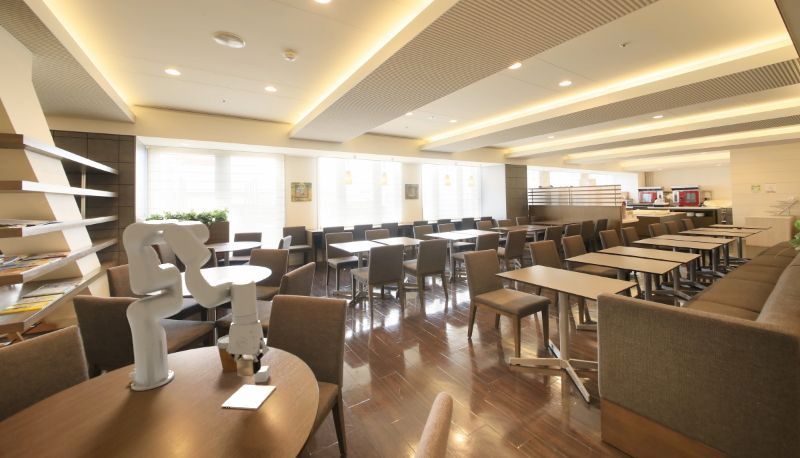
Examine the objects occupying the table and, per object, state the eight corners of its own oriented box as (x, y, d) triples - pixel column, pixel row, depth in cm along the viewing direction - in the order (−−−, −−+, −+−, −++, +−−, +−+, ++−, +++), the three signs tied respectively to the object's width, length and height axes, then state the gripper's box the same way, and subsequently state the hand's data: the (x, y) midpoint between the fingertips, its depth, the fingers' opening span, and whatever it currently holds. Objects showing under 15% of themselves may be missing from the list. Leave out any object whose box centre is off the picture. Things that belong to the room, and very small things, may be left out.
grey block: (255, 382, 117) (254, 372, 116) (258, 377, 121) (257, 366, 120) (266, 381, 117) (265, 371, 117) (269, 376, 121) (268, 365, 121)
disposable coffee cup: (249, 362, 132) (248, 333, 131) (235, 374, 123) (233, 343, 122) (228, 361, 133) (226, 333, 132) (212, 373, 124) (210, 343, 123)
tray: (221, 407, 102) (221, 405, 102) (244, 386, 114) (244, 384, 114) (256, 409, 101) (256, 407, 101) (275, 387, 113) (275, 385, 113)
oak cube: (237, 375, 105) (236, 361, 104) (246, 368, 110) (245, 354, 109) (251, 376, 104) (250, 361, 104) (260, 368, 109) (259, 354, 109)
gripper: (213, 322, 103) (217, 376, 104) (263, 322, 101) (267, 378, 102) (228, 314, 110) (232, 365, 112) (275, 314, 108) (278, 366, 110)
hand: (249, 370), depth 107 cm, fingers closed on oak cube, 5 cm apart
